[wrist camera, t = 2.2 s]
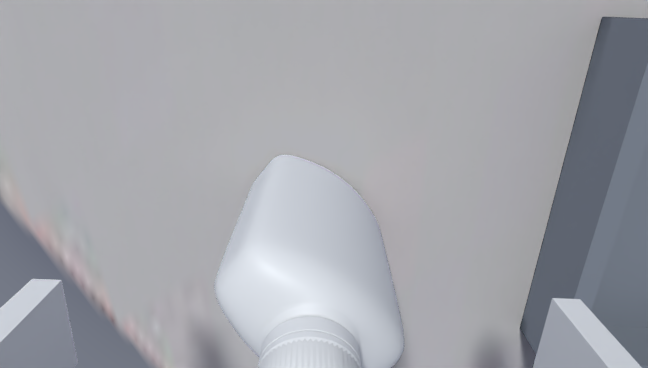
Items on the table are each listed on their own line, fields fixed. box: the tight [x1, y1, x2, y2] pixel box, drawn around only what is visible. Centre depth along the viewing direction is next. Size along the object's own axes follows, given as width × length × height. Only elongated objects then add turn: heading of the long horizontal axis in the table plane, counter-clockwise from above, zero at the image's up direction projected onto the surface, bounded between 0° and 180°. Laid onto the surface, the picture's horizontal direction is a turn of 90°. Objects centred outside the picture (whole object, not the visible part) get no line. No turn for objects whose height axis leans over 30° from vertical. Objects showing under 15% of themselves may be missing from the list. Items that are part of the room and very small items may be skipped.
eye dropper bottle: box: [214, 155, 404, 368], centre depth 13 cm, size 4×6×12 cm
